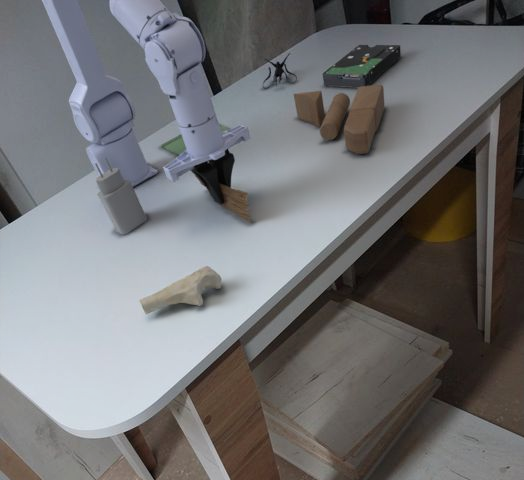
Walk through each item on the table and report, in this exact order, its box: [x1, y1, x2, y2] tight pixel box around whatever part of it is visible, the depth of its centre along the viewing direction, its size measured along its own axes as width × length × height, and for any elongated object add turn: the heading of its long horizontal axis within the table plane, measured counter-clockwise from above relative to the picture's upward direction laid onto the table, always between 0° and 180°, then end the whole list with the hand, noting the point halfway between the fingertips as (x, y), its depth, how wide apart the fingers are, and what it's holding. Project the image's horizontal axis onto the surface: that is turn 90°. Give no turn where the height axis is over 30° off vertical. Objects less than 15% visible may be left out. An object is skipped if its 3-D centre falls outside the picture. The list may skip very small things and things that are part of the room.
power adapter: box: [95, 157, 148, 236], centre depth 86 cm, size 3×5×12 cm, turn 134°
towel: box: [160, 124, 230, 157], centre depth 108 cm, size 12×10×1 cm
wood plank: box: [194, 174, 252, 224], centre depth 85 cm, size 15×2×5 cm, turn 36°
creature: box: [262, 52, 298, 90], centre depth 117 cm, size 8×5×8 cm
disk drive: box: [322, 44, 402, 89], centre depth 111 cm, size 10×3×15 cm
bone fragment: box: [138, 265, 222, 315], centre depth 71 cm, size 5×11×4 cm, turn 111°
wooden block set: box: [293, 84, 385, 155], centre depth 94 cm, size 17×6×18 cm
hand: (223, 199), depth 86 cm, fingers closed on wood plank, 1 cm apart
